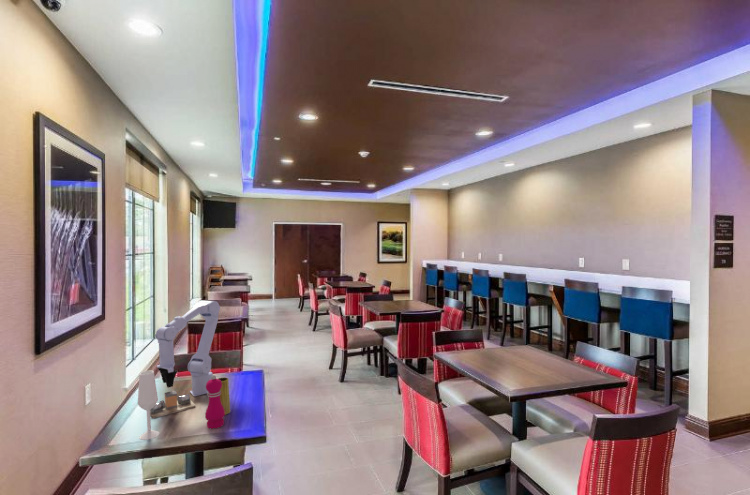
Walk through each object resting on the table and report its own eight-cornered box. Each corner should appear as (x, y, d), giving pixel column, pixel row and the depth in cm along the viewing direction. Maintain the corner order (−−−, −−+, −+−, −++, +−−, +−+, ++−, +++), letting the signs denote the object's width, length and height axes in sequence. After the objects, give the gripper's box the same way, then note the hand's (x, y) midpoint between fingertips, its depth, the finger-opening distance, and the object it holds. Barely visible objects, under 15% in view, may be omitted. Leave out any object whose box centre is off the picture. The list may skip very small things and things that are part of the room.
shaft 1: (161, 410, 179) (161, 399, 179) (165, 412, 177) (165, 401, 177) (150, 414, 175) (149, 403, 175) (154, 416, 173) (153, 405, 173)
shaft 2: (188, 402, 187) (188, 392, 187) (190, 405, 184) (190, 394, 184) (177, 405, 184) (177, 394, 184) (179, 408, 181) (178, 397, 181)
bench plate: (189, 399, 190) (189, 397, 190) (195, 407, 182) (195, 405, 181) (147, 409, 180) (147, 407, 180) (152, 418, 171) (152, 416, 171)
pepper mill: (213, 431, 158) (211, 379, 158) (201, 426, 162) (199, 376, 162) (229, 423, 165) (227, 373, 164) (217, 419, 168) (215, 371, 168)
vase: (216, 417, 171) (214, 383, 170) (214, 411, 176) (213, 378, 176) (231, 413, 174) (230, 380, 173) (229, 408, 179) (228, 376, 179)
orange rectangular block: (175, 403, 183) (174, 390, 183) (177, 406, 180) (176, 393, 180) (165, 406, 181) (164, 392, 181) (166, 409, 178) (166, 395, 178)
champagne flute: (163, 431, 159) (160, 370, 158) (150, 440, 152) (147, 375, 152) (148, 430, 160) (145, 369, 160) (134, 438, 154) (132, 375, 153)
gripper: (153, 352, 185) (154, 382, 186) (160, 359, 174) (161, 391, 175) (170, 349, 190) (171, 378, 190) (178, 356, 178) (179, 387, 179)
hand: (167, 384), depth 183 cm, fingers open, 7 cm apart
